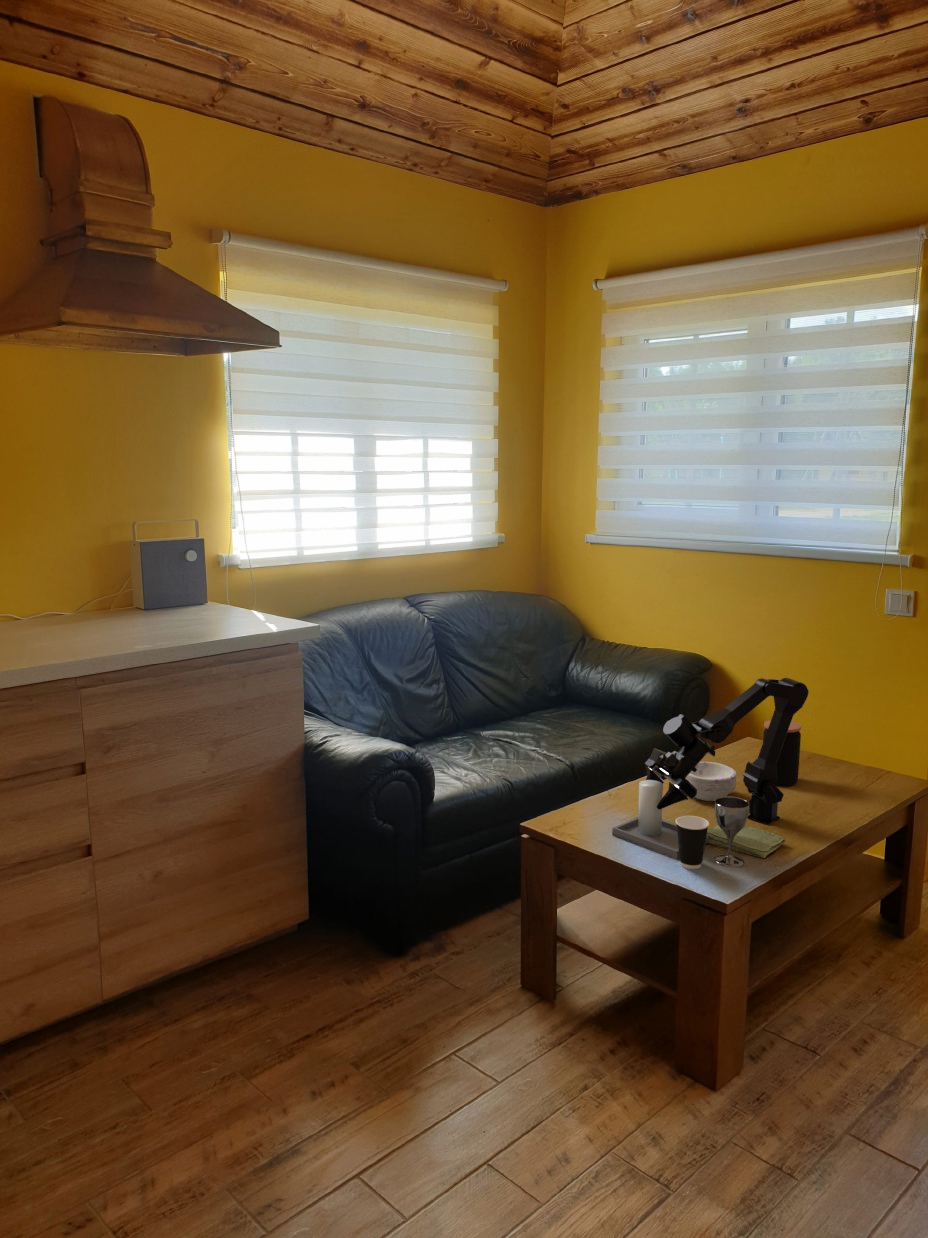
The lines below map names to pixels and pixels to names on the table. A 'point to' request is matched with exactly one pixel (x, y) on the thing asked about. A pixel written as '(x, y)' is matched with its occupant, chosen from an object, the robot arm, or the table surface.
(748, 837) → the washcloth
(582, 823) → the table surface
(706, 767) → the paper bowls
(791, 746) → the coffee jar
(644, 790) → the white cylinder
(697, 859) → the dixie cup
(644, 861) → the table surface
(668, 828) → the tray
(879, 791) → the table surface
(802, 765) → the table surface
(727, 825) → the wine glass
